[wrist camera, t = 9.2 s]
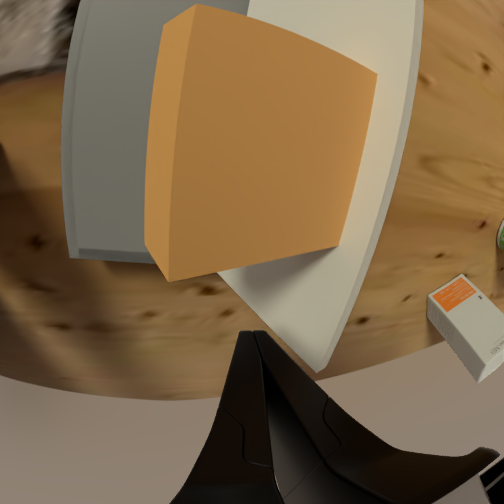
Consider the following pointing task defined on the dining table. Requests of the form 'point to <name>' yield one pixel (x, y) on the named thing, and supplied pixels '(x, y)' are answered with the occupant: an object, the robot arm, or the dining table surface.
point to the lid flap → (280, 153)
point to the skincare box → (469, 325)
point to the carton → (112, 122)
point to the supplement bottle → (501, 236)
